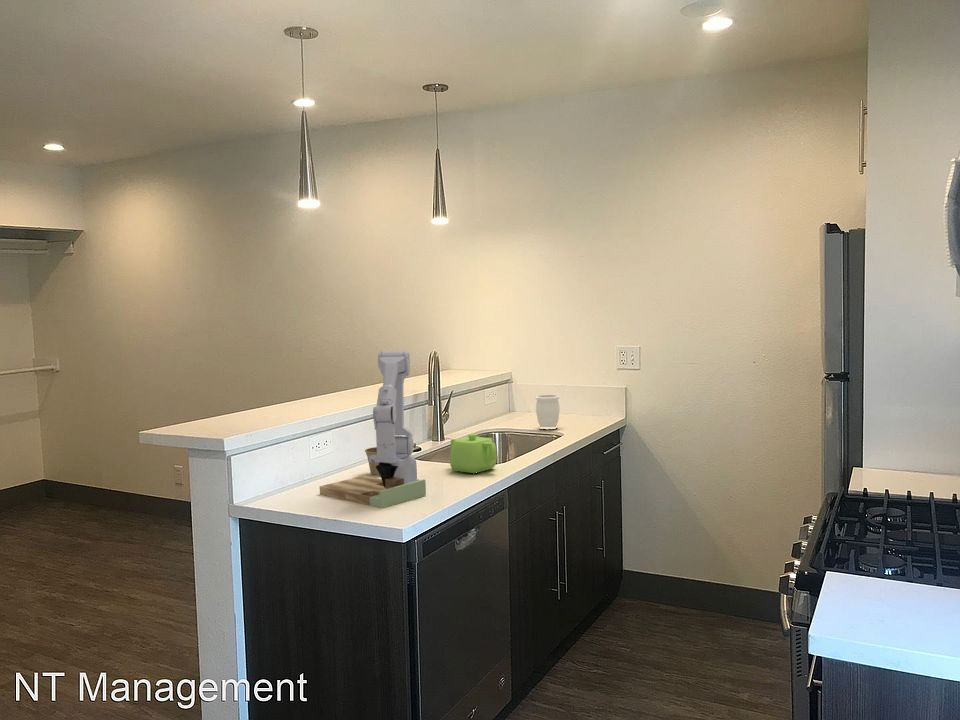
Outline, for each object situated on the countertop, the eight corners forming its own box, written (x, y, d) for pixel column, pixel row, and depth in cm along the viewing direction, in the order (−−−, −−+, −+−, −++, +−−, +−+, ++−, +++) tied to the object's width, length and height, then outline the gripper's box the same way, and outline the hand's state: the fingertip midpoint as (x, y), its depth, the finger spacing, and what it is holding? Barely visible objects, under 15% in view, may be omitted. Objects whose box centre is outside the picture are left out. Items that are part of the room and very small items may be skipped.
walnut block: (395, 489, 251) (395, 476, 250) (404, 491, 248) (403, 478, 248) (385, 492, 248) (385, 479, 247) (394, 494, 245) (394, 481, 245)
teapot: (472, 462, 301) (471, 427, 300) (515, 467, 288) (514, 431, 287) (438, 471, 287) (437, 434, 286) (482, 478, 274) (481, 439, 273)
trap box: (363, 483, 272) (362, 468, 272) (426, 495, 252) (425, 479, 252) (319, 494, 259) (319, 478, 258) (382, 508, 239) (381, 491, 238)
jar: (563, 428, 369) (563, 395, 368) (553, 431, 360) (552, 398, 359) (543, 426, 375) (542, 394, 373) (532, 430, 366) (531, 397, 365)
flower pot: (375, 477, 280) (373, 453, 279) (360, 473, 287) (359, 449, 286) (397, 473, 286) (396, 449, 285) (383, 469, 293) (382, 445, 292)
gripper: (360, 443, 251) (362, 486, 252) (391, 448, 241) (393, 493, 242) (377, 439, 256) (379, 482, 257) (409, 444, 246) (411, 488, 247)
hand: (387, 487), depth 250 cm, fingers closed
